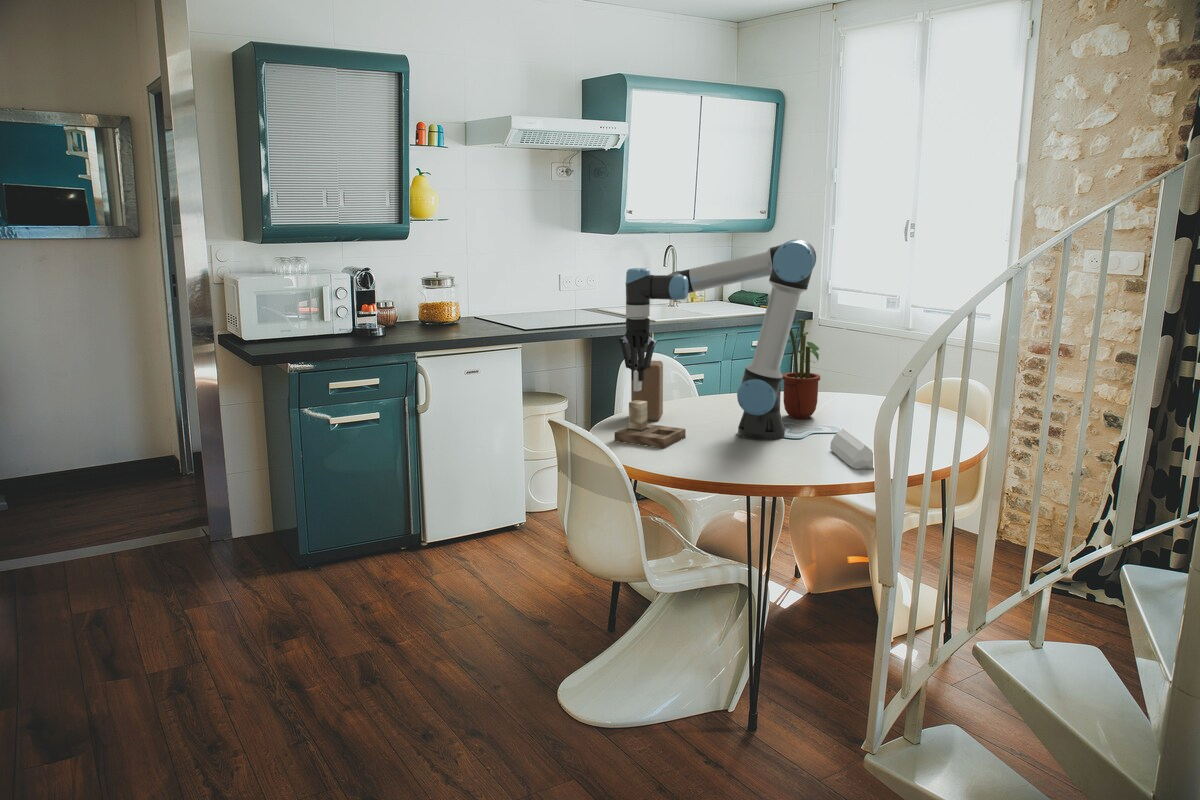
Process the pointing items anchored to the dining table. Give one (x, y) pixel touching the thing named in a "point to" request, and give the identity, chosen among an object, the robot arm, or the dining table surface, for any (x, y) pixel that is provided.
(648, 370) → the wooden block
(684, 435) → the walnut board
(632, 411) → the beech peg
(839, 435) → the crystal
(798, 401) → the potted plant
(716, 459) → the dining table surface
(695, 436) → the dining table surface
